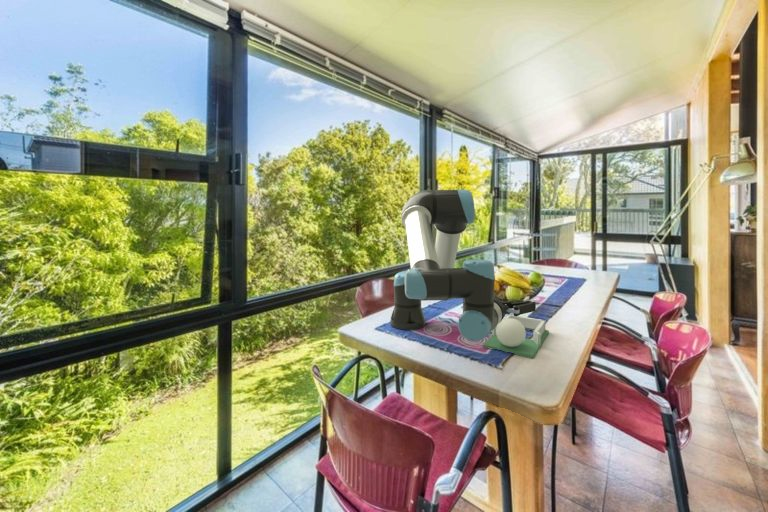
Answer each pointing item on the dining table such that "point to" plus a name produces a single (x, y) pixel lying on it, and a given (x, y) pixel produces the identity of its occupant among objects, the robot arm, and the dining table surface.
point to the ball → (510, 332)
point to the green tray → (528, 345)
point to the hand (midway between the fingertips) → (505, 298)
